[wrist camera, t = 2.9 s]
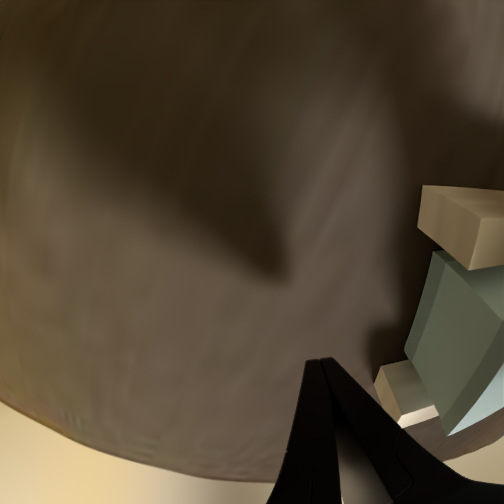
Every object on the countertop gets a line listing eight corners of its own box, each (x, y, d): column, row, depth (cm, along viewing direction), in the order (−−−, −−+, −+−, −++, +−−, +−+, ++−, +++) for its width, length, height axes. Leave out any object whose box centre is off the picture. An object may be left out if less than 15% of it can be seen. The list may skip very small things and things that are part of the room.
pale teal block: (517, 242, 9) (584, 298, 5) (486, 325, 11) (532, 386, 7) (432, 250, 9) (517, 338, 5) (403, 348, 11) (446, 436, 7)
